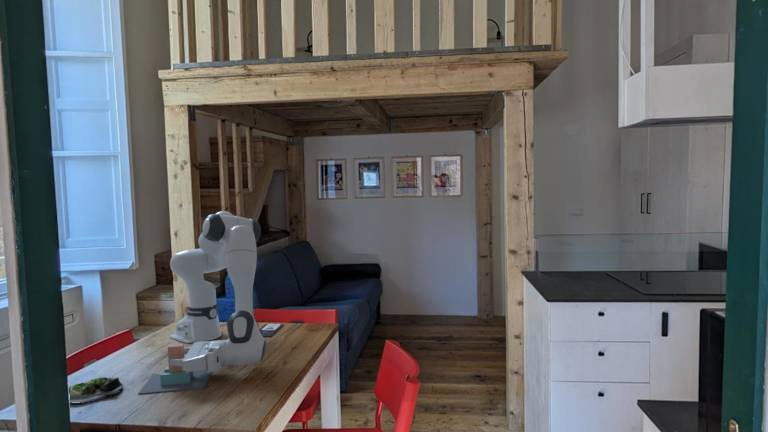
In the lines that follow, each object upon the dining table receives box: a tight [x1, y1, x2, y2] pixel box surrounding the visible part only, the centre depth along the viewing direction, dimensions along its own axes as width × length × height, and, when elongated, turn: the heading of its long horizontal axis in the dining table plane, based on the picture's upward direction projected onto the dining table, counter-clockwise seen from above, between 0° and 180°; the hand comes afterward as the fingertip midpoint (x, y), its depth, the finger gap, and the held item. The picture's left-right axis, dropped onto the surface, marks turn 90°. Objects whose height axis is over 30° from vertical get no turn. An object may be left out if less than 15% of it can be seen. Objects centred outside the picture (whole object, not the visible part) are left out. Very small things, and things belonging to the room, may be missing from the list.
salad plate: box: [68, 376, 124, 404], centre depth 153 cm, size 19×18×5 cm
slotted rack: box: [160, 367, 194, 386], centre depth 162 cm, size 9×6×4 cm
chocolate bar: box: [259, 323, 285, 338], centre depth 218 cm, size 9×1×18 cm
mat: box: [137, 369, 213, 395], centre depth 162 cm, size 20×16×1 cm
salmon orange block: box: [167, 343, 185, 373], centre depth 162 cm, size 4×2×12 cm, turn 101°
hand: (173, 357), depth 161 cm, fingers open, 8 cm apart
